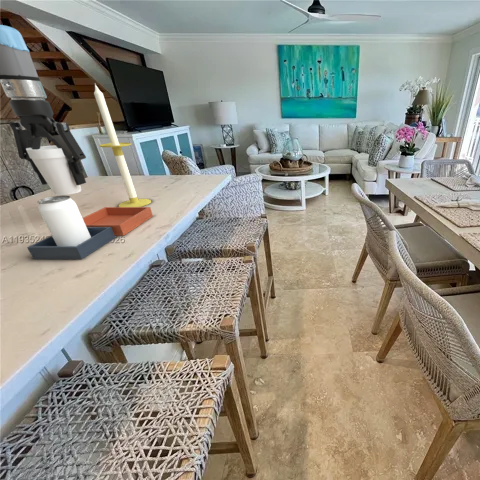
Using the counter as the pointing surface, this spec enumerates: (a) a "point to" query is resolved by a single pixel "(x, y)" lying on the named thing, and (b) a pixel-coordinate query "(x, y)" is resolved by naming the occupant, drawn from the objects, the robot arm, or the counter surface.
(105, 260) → the counter surface
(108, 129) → the candle
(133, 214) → the bin
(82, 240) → the can
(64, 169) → the foam cup
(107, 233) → the can bin
